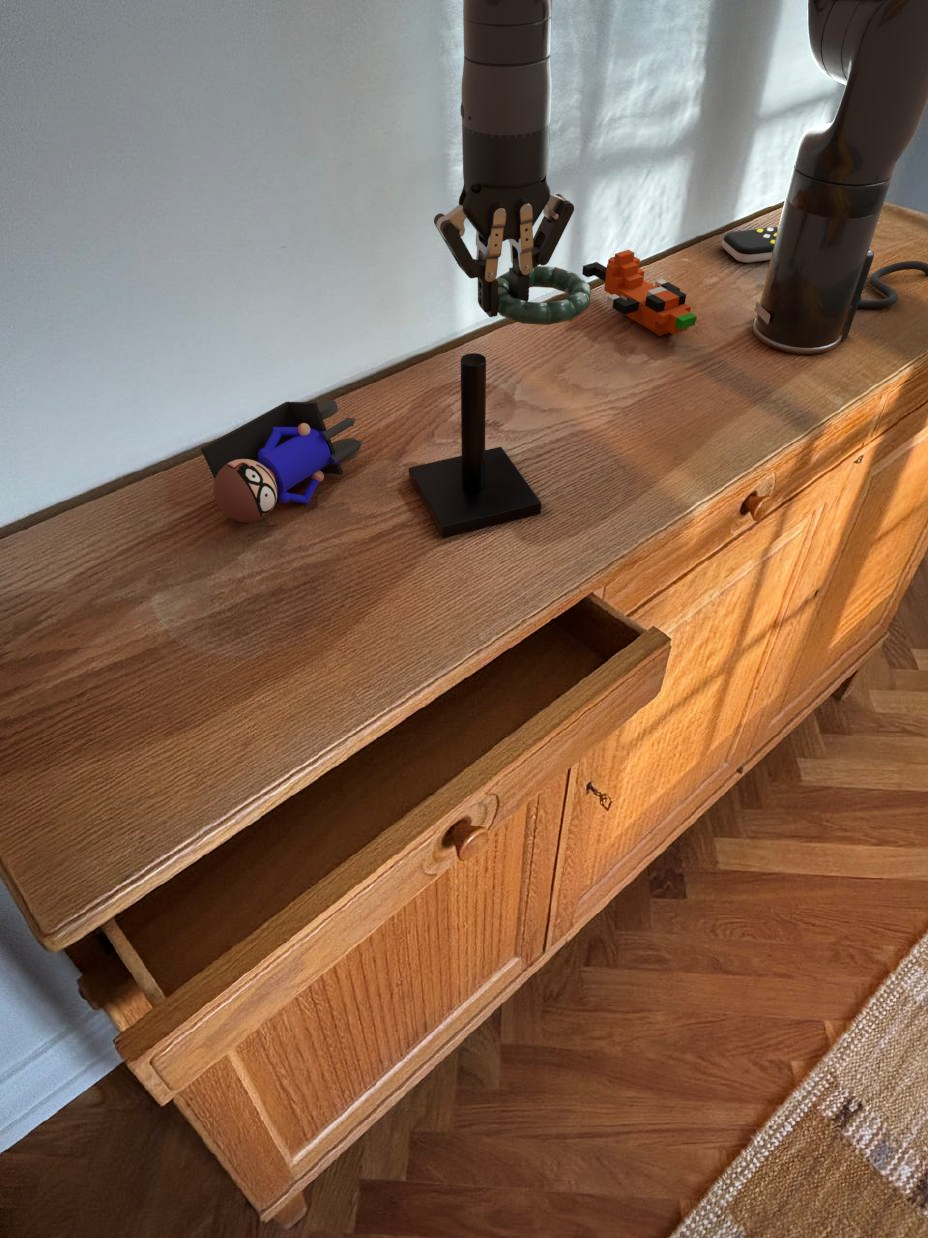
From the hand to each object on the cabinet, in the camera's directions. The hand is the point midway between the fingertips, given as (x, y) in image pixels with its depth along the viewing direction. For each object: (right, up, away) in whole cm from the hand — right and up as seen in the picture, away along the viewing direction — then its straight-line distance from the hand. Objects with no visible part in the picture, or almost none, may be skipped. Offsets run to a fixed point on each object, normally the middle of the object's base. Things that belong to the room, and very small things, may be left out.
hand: (503, 310), depth 86 cm
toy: (+16, +4, +14) cm, 22 cm away
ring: (+4, +2, 0) cm, 4 cm away
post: (-3, -20, -9) cm, 22 cm away
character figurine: (-19, -20, -9) cm, 29 cm away
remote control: (+36, +17, +27) cm, 48 cm away
